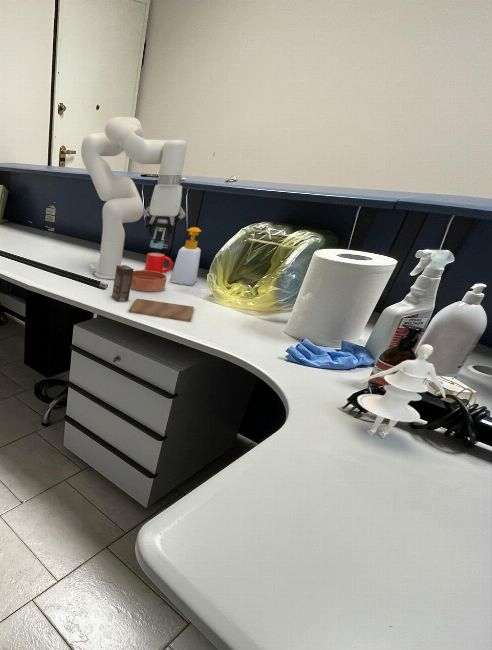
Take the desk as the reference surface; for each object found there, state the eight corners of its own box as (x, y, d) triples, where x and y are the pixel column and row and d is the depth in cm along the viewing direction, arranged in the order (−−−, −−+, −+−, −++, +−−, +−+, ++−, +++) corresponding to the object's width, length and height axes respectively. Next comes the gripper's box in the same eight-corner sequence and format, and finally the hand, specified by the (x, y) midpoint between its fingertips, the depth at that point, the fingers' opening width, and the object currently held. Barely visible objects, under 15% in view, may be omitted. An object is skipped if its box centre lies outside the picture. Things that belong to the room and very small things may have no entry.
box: (129, 301, 152) (134, 268, 146) (118, 301, 151) (122, 269, 145) (122, 296, 157) (126, 264, 151) (111, 296, 156) (115, 265, 150)
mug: (168, 276, 182) (171, 258, 178) (142, 272, 187) (145, 254, 183) (173, 272, 187) (176, 255, 183) (147, 268, 193) (150, 251, 189)
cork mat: (128, 312, 141) (129, 309, 141) (136, 300, 152) (137, 298, 152) (189, 321, 134) (190, 319, 134) (193, 308, 145) (193, 306, 145)
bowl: (123, 289, 164) (125, 277, 162) (131, 280, 176) (132, 268, 173) (161, 294, 159) (163, 282, 156) (166, 284, 170) (168, 272, 168)
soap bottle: (167, 285, 170) (178, 229, 158) (173, 277, 180) (184, 224, 169) (191, 289, 166) (204, 231, 154) (196, 280, 176) (209, 226, 165)
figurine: (406, 428, 84) (461, 339, 74) (425, 456, 76) (489, 360, 66) (331, 413, 88) (373, 327, 78) (342, 438, 80) (390, 346, 70)
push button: (168, 248, 153) (175, 220, 148) (165, 250, 149) (173, 222, 144) (150, 245, 156) (156, 217, 151) (147, 247, 152) (154, 219, 146)
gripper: (196, 181, 141) (185, 235, 150) (145, 180, 147) (138, 232, 156) (194, 182, 135) (183, 239, 144) (142, 181, 141) (134, 235, 150)
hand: (160, 235), depth 150 cm, fingers closed on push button, 5 cm apart
